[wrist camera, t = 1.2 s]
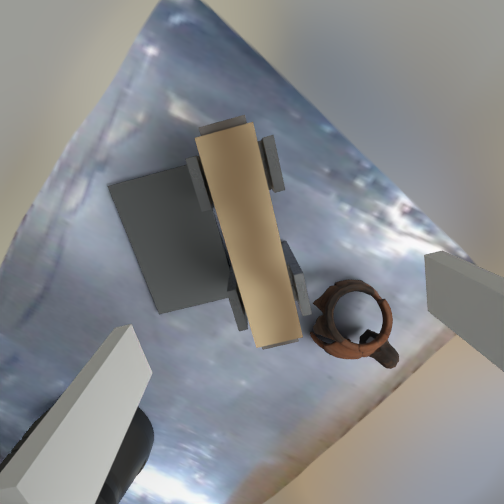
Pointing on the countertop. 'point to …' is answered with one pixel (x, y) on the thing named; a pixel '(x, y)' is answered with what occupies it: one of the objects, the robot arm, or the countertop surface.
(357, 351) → the pottery mug
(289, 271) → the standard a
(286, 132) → the countertop surface
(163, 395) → the countertop surface
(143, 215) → the mat
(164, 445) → the countertop surface
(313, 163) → the countertop surface
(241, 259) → the oak rail
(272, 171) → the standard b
